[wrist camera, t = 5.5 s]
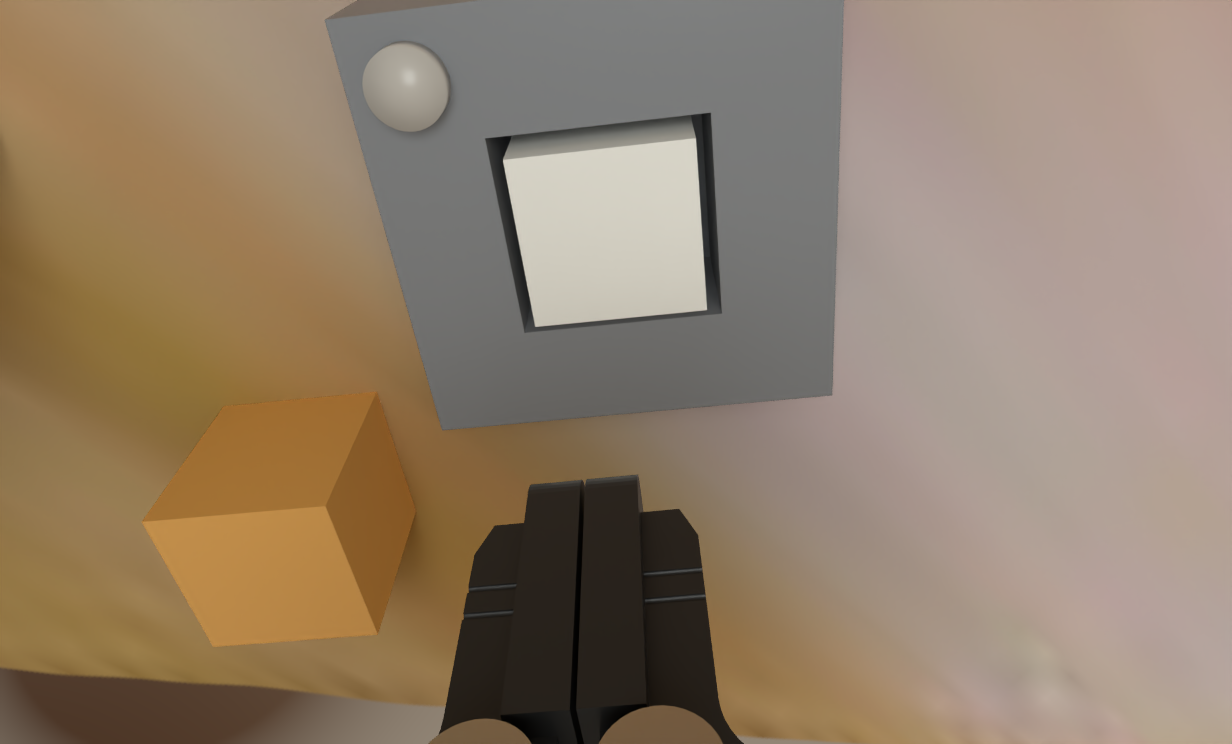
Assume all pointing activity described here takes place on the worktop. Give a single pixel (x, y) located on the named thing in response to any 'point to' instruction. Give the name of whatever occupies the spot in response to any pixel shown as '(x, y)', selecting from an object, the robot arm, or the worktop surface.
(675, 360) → the grey square block
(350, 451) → the orange matte cube
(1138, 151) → the worktop surface
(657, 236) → the switch
